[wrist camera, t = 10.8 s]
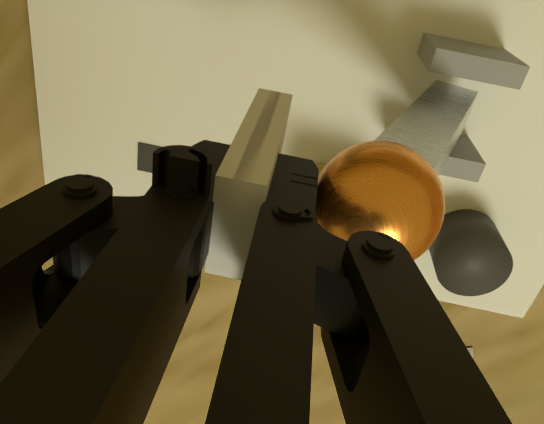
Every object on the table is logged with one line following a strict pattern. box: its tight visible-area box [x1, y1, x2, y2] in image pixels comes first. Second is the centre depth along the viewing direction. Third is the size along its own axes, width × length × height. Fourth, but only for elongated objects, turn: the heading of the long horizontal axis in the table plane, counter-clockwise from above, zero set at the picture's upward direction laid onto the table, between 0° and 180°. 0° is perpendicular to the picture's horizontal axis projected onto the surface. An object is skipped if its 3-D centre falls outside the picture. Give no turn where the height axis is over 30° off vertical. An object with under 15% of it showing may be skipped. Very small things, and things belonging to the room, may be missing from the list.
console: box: [27, 0, 544, 318], centre depth 25 cm, size 32×26×8 cm
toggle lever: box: [315, 80, 478, 260], centre depth 17 cm, size 4×4×14 cm
